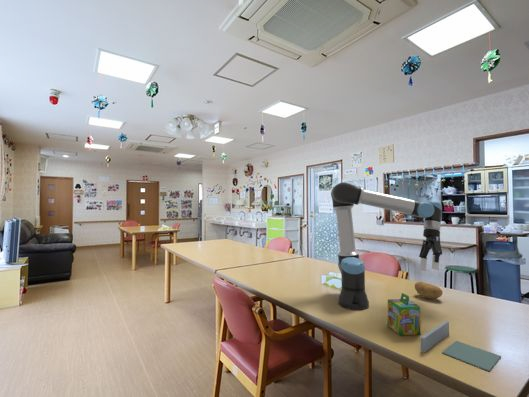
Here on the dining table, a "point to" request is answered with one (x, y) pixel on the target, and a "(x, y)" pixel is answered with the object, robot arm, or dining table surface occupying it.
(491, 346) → the dining table surface
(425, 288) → the potato
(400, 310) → the chalk box
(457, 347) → the mat
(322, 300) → the dining table surface
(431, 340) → the low wall
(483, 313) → the dining table surface
